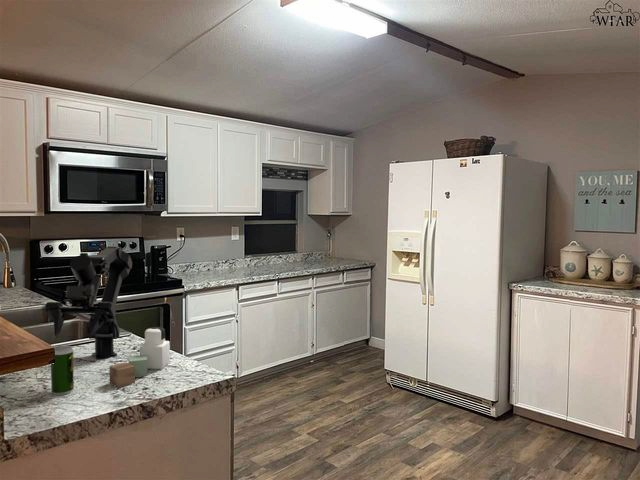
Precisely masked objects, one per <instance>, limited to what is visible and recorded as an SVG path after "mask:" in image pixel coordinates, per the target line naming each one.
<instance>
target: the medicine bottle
mask: <svg viewBox="0 0 640 480" xmlns="http://www.w3.org/2000/svg"><path fill="white" fill-rule="evenodd" d="M170 344H171V343H170V341H169V340H166V329H165V328H163V327H161V326H152V327H148V328H146V329H145V330H144V343H143V344H142V345H140V346H139V356H140V355H146V357H147V370H162V369H164V368H165V367H166V366H168V365H169V363H170V357H171V356H170V355H171V352H170V351H171V349H170Z"/></svg>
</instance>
